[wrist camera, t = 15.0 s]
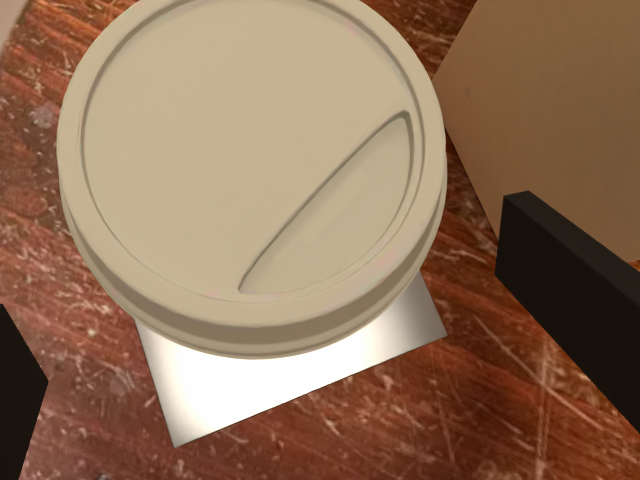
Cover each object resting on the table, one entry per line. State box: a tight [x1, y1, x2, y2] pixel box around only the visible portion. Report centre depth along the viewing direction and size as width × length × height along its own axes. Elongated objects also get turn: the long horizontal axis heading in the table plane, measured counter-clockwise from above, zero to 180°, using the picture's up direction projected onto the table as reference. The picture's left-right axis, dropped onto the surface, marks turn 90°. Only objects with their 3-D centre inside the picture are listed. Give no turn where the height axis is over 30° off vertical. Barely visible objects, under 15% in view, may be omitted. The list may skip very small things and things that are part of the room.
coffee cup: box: [57, 0, 447, 360], centre depth 15 cm, size 9×8×12 cm
